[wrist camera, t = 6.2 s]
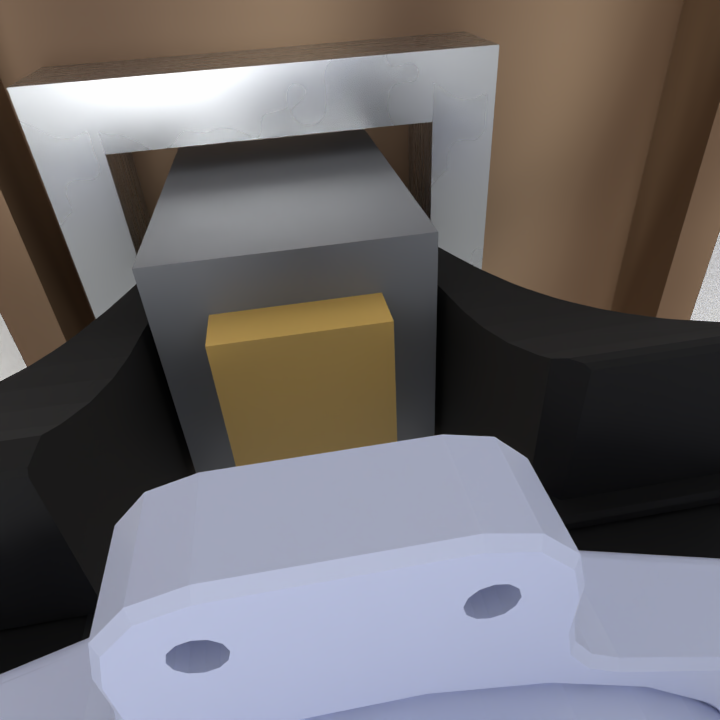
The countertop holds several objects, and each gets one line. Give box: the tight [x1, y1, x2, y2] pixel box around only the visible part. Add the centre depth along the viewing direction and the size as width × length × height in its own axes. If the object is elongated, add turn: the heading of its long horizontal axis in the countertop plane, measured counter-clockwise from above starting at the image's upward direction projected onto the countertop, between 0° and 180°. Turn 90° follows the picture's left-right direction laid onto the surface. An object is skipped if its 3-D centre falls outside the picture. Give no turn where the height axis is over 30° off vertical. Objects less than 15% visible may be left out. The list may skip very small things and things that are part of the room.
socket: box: [7, 31, 499, 319], centre depth 13 cm, size 8×8×2 cm
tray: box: [0, 0, 720, 367], centre depth 15 cm, size 16×18×2 cm
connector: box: [132, 129, 438, 473], centre depth 11 cm, size 4×4×7 cm
